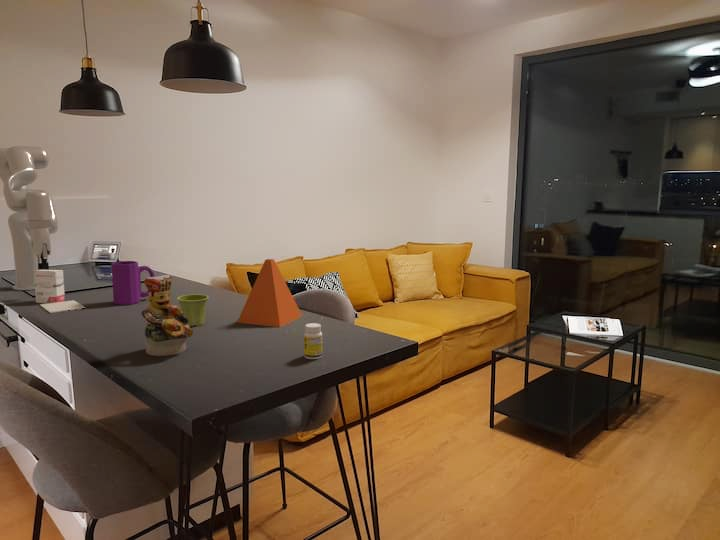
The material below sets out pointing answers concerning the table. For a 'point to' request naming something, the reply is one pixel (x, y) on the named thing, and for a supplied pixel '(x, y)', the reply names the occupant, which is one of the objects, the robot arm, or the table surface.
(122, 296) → the mug
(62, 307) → the mat
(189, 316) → the plant pot
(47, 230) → the robot arm
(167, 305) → the figurine
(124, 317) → the table surface
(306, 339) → the supplement bottle
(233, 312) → the table surface
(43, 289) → the ink box
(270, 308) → the pyramid
